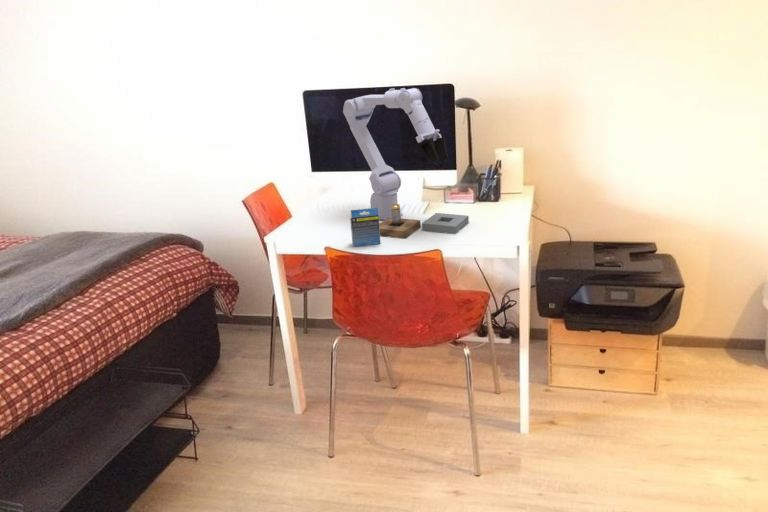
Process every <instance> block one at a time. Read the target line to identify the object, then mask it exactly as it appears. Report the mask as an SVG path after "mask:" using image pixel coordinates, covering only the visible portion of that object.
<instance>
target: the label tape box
mask: <svg viewBox="0 0 768 512" xmlns="http://www.w3.org/2000/svg"><path fill="white" fill-rule="evenodd" d="M364 212H365V213H366V214H365V213H364ZM362 213H364V214H362ZM349 220H350V231H351V232H350V233H351V240H352V241H351V242H352V244H353V247H354V248H355V247H362V246H369V245H379V244H381V236H380V228H379V223H380V219H379V215H378V208H371V207H370V208H359V209H350V218H349Z"/></svg>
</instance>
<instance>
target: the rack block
mask: <svg viewBox="0 0 768 512" xmlns="http://www.w3.org/2000/svg"><path fill="white" fill-rule="evenodd" d="M469 218H470V217H469V215H465V214H464V215H463V214H454V213H453V214H452V213H441V212H435V213H433V214H432V215H431V216H430V217H428V218H427V219H426V220H425V221H423V222H422V223H421V231H425V232H435V233H443V232H447V233H446V234H452V233H456V232H457V233H458V232H460V231H461V230H462V229H463V228H464V227H465V226H467V225H468V224H469V220H470V219H469ZM460 229H461V230H460ZM459 230H460V231H459ZM457 233H456V234H457Z"/></svg>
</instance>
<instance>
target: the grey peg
mask: <svg viewBox="0 0 768 512" xmlns="http://www.w3.org/2000/svg"><path fill="white" fill-rule="evenodd" d="M400 213H401V205H400V204H399V203H398V204H393V205H391V214H392V226H398V227H400V226H401V218H402V217H401V216H402V215H400Z"/></svg>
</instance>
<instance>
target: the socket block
mask: <svg viewBox="0 0 768 512" xmlns="http://www.w3.org/2000/svg"><path fill="white" fill-rule="evenodd" d="M379 228H380V235H382V236H381V237H387V236H391V237H390V238H396V237H397V239H406V238H408V237H410V235H412V234H413V233H415V232H416V231H418V230H419V229H420V228H422V224H421V220H420V219H414V218H402V217H401V226H400V227H398V226H392V217H389V218H387V219H385V220H382V221H381V222H379Z"/></svg>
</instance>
